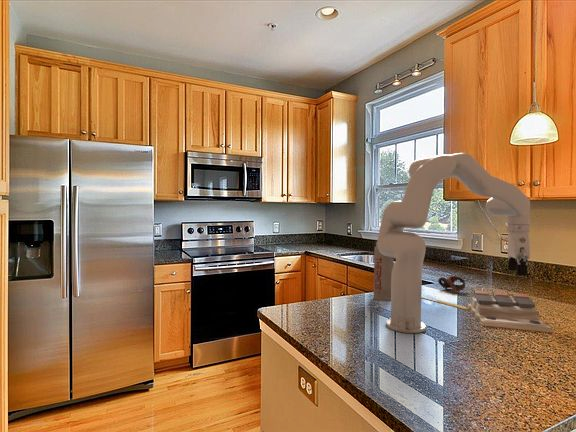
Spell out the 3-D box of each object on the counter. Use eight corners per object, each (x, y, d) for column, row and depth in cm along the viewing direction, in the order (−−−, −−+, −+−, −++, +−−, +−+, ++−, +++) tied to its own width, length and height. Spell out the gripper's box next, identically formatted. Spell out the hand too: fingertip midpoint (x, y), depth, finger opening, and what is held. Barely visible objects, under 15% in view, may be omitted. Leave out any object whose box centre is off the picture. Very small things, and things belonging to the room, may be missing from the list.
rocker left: (493, 304, 123) (493, 300, 123) (478, 303, 124) (478, 299, 124) (487, 294, 130) (487, 291, 130) (473, 293, 132) (473, 290, 131)
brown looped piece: (462, 290, 167) (467, 277, 163) (460, 302, 160) (466, 290, 156) (437, 281, 172) (441, 269, 167) (434, 293, 165) (438, 280, 160)
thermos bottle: (380, 301, 143) (382, 235, 143) (369, 296, 151) (371, 234, 150) (396, 299, 146) (397, 235, 146) (384, 295, 154) (385, 233, 153)
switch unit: (551, 332, 109) (551, 315, 109) (481, 325, 115) (482, 309, 115) (525, 312, 130) (525, 298, 130) (467, 307, 136) (468, 294, 136)
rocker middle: (513, 306, 121) (514, 302, 121) (498, 304, 122) (498, 301, 122) (506, 296, 128) (507, 292, 128) (492, 295, 130) (492, 291, 130)
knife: (405, 290, 162) (399, 290, 160) (473, 307, 135) (467, 307, 132) (405, 293, 162) (399, 293, 160) (473, 310, 135) (466, 310, 132)
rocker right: (534, 307, 119) (535, 303, 119) (519, 306, 121) (519, 302, 120) (526, 297, 127) (527, 293, 126) (511, 296, 128) (512, 292, 128)
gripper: (538, 230, 121) (537, 278, 122) (520, 227, 138) (520, 269, 138) (514, 230, 123) (513, 276, 124) (499, 227, 140) (499, 268, 140)
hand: (517, 272), depth 131 cm, fingers open, 9 cm apart
